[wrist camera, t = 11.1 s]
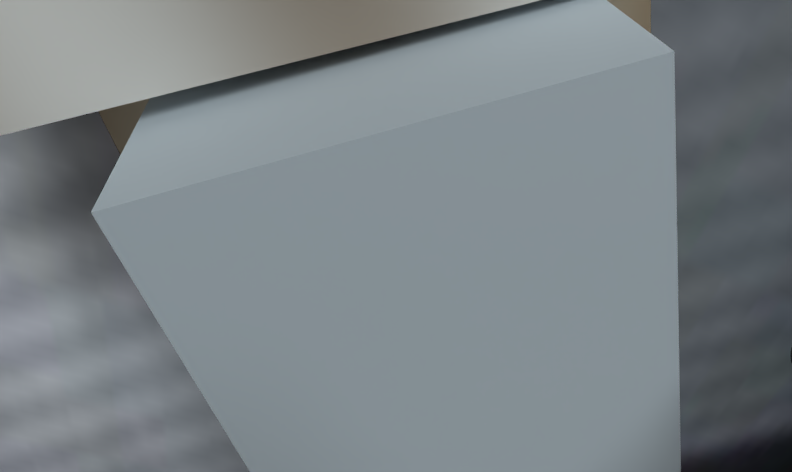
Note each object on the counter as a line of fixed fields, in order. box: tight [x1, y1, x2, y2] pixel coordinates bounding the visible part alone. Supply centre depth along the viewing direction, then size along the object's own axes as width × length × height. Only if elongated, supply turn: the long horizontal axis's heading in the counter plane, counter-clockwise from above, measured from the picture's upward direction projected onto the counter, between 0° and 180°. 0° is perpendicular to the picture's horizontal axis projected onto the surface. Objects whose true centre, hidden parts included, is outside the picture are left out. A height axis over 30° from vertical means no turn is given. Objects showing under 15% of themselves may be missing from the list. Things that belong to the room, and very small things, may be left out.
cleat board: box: [0, 0, 651, 155], centre depth 14 cm, size 12×16×7 cm
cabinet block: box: [91, 0, 681, 472], centre depth 13 cm, size 6×9×8 cm, turn 14°
